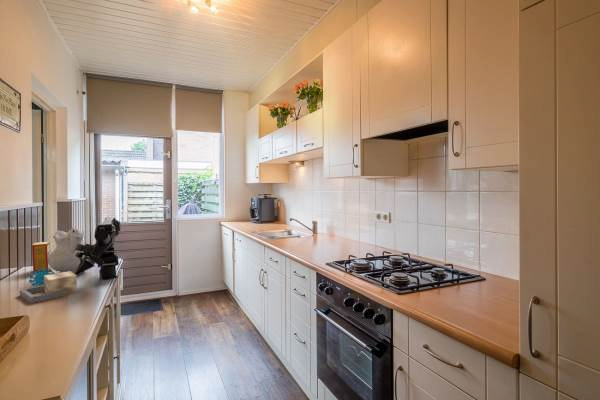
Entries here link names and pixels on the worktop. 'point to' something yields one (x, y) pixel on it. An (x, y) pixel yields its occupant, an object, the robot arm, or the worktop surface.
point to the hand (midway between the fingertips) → (75, 274)
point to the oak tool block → (60, 282)
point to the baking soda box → (40, 256)
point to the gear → (39, 276)
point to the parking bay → (31, 298)
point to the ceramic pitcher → (65, 251)
